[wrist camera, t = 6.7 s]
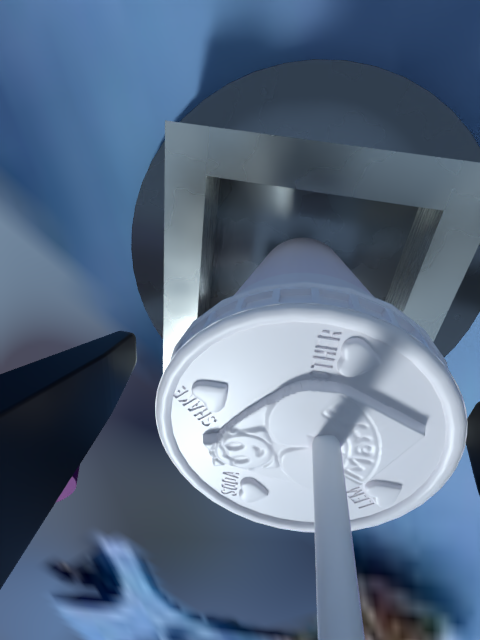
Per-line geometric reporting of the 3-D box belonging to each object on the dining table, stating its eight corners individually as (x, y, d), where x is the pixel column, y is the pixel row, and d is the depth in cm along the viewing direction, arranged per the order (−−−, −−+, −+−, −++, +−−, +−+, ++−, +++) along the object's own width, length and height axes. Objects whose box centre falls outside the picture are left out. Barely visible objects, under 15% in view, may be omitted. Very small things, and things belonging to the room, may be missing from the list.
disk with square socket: (582, 90, 11) (664, 76, 9) (411, 429, 19) (428, 474, 17) (130, 39, 13) (86, 14, 10) (140, 374, 21) (117, 408, 18)
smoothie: (384, 325, 16) (658, 942, 4) (253, 348, 18) (142, 817, 5) (363, 184, 13) (1048, 672, 1) (212, 228, 15) (-173, 603, 3)
